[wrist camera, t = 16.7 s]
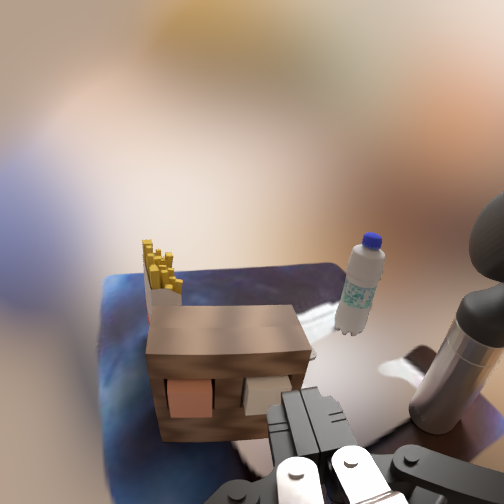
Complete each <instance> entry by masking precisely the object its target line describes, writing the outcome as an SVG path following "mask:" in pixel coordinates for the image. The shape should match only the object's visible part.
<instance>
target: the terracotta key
mask: <svg viewBox="0 0 504 504" xmlns="http://www.w3.org/2000/svg"><path fill="white" fill-rule="evenodd" d="M167 395H168V402H169V409H170V415H171V418H204V417H212V384H211V379H168V381H167Z"/></svg>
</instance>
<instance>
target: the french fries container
mask: <svg viewBox="0 0 504 504" xmlns="http://www.w3.org/2000/svg"><path fill="white" fill-rule="evenodd" d="M142 242H143V266H144V280H145V292H146V303H147V313H148V321H149V326H150V319H151V313H152V307H153V305H154V306H182V304H181V289H182V283H183V282H182V280H179V279H176V277H174V268H172V260H173V256H172V253H170V252H169V253H165V257H163V258H162V256H161V250H160V249H156V253H153V248H152V246H153V245H152V241H151V240H142Z"/></svg>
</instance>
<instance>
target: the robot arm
mask: <svg viewBox="0 0 504 504" xmlns="http://www.w3.org/2000/svg"><path fill="white" fill-rule="evenodd" d="M469 254H470V258H471V262H472V264H473V266H474V267H475V269H476V270H477V271H478V272H479V273H481V274H482V275H483V276H485V277H487V278H489V279H492V280H496V281H499V282H501V283H499V284H498V285H496V286H494V287H491V288H489V289H485V290H480V291H474V292H471V293H469V294H467V295H466V296H465V297H464V298H463V299H462V301H461V303H460V306H459V308H458V310H457V313H456V315H455V317H454V319H453V321H452V324H451V326H450V328H449V330H448V333H447V335H446V337H445V339H444V341H443V343H442V345H441V347H440V349H439V351H438V353H437V355H436V357H435V359H434V360H433V362H432V364H431V366H430V368H429V370H428V372H427V373H426V375H425V377H424V379H423V381H422V382H421V384H420V386H419V387H418V389H417V391H416V393H415V395H414V396H413V398H412V400H411V401H410V404H409V414H410V417H411V419H412V420H413V422H414V423H415V424H416V425H417V426H418V427H419V428H420V429H422V430H423V431H425V432H428V433H431V434H445V433H447V432H449V431H450V430H452V429H453V428H454V426H455V425H456V424H457V423H458V421H459V420H460V419H461V417H462V416H463V415H464V413H465V412H466V411H467V410H468V408H469V407H470V405H471V404H472V403H473V401H474V400H475V398H476V397H477V396H478V394H479V393H480V391H481V390H482V388H483V387H484V385H485V384H486V382H487V381H488V379H489V378H490V376H491V375H492V373H493V371H494V370H495V368H496V366H497V365H498V363H499V362H500V360H501V358H502V356H503V355H504V191H503V192H502V193H501V194H499V195H498V196H496V197H495V198H494V199H492V200H491V201H490V202H489V203H488V204H487V205H486V206H485V208H484V209H483V210H482V212H481V213H480V215H479V216H478V218H477V220H476V222H475V224H474V226H473V229H472V232H471V236H470V240H469ZM267 426H268V438H269V444H270V449H271V455H272V460H273V466H274V469H273V471H272V472H271V473H270V474H269V475H268V476H266V477H265V478H263V479H261V480H258V481H256V482H253V483H251V482H249V481H246V480H240V479H239V480H231V481H228V482H226V483H224V484H223V485H222V486H221V487H220V488H219V489H218V490H217V491H216V492H215V493H214V494H213V495H212V496H211V497H210V498H209V499H208V500H207V501H206V502H205V503H204V504H324V501H323V496H322V491H321V486H320V485H322V484H325V487H326V490H327V494H326V500H327V503H328V504H504V473H502V472H499V471H495V470H491V469H487V468H484V467H481V466H477V465H474V464H471V463H468V462H465V461H461V460H458V459H455V458H452V457H449V456H446V455H443V454H440V453H438V452H435V451H432V450H429V449H426V448H424V447H421V446H418V445H405V446H402V447H400V448H399V449H398V450H397V451H396V452H395V453H394V454H391V455H374V454H370V453H368V452H367V451H366V450H364V449H363V448H361V447H360V446H359V445H358V443H357V440H356V438H355V436H354V434H353V432H352V430H351V428H350V425H349V423H348V421H347V420H346V417H345V414H344V413H343V410H342V408H341V406H340V404H339V402H338V401H336V400H335V399H334V398H333V397H331V396H327V397H321V395H320V392H319V390H318V388H317V387H310V388H304V389H299V390H292V391H285V392H281V404H279V405H271V406H270V407H269V410H268V412H267Z"/></svg>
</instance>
